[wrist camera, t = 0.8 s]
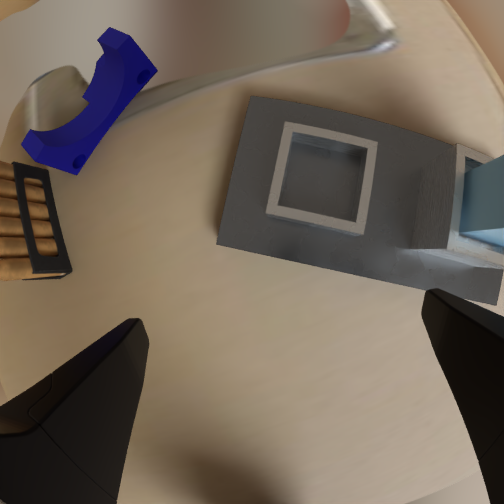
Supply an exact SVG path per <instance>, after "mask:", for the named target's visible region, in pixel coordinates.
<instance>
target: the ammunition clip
mask: <svg viewBox="0 0 504 504" xmlns="http://www.w3.org/2000/svg"><path fill="white" fill-rule="evenodd" d="M0 259H1V260H0V280H2V281H8V280H19V279H22V280H42V279H61V278H62V277H64V276H66V275H68V274H70V273H71V272H72V267H71V263H70V260H69V257H68V253H67V250H66V246H65V243H64V239H63V235H62V232H61V228H60V224H59V220H58V215H57V211H56V207H55V202H54V198H53V193H52V188H51V183H50V177H49V172H48V170H45V169H42V168H38V167H34V166H30V165H26V164H22V163H18V162H12V164H9V163H6V162H2V161H0Z"/></svg>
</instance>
